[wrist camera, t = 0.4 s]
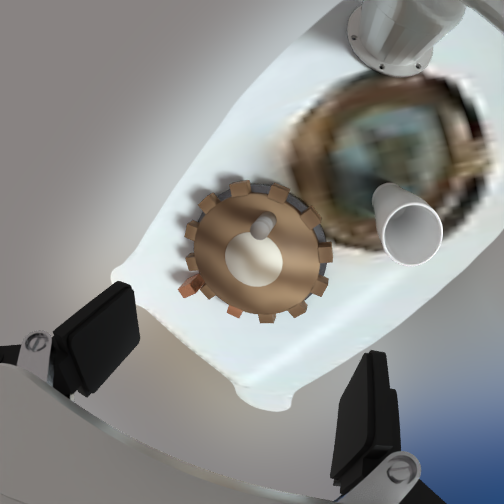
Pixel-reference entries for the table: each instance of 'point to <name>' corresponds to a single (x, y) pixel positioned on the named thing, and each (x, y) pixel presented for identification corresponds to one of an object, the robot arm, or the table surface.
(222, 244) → the sprocket
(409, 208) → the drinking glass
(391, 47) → the robot arm
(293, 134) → the table surface
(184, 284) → the sprocket stand
